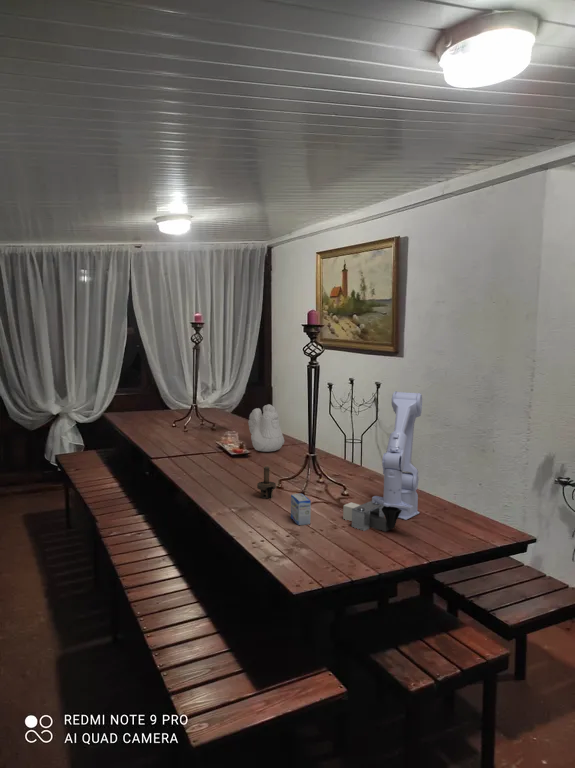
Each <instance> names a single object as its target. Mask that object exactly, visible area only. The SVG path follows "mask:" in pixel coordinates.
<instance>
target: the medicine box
mask: <svg viewBox="0 0 575 768" xmlns="http://www.w3.org/2000/svg"><path fill="white" fill-rule="evenodd" d="M311 506H312V501H311V500H310V498H308V497H307V496H306V495H304V494H303V493H294V494H293V493H292V494H291V496H290V519H291V520H292V519H293V520H294V521H295V522H294V521H293V520H292V521H293V522H294V523H295V524H296V525H298V526H299V525H301V526H308V524H309V525H310V524H311V513H312V512H311V510H312V507H311Z"/></svg>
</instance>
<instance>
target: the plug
mask: <svg viewBox="0 0 575 768" xmlns="http://www.w3.org/2000/svg"><path fill="white" fill-rule="evenodd" d="M360 505H361V504H358V503H355V502H352V501H351V502H349V503H345V504H344V505H343V506H342V507H343V509H342V510H343V511H342V512H343V513H342V515H343V516H342V519H343V520H344V519H345V520H344V521H347V520H349V521H348V522H350V521H352V509H353V508H355V507H358V506H360ZM369 528H372V529H376V530H379V531H381V530H382V532H385V533H386V532H388V531H390V530H391V529H388V525H387V521H386V518H385V517H384V518H383V517H380V516H376V515H373V514H370V526H369Z"/></svg>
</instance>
